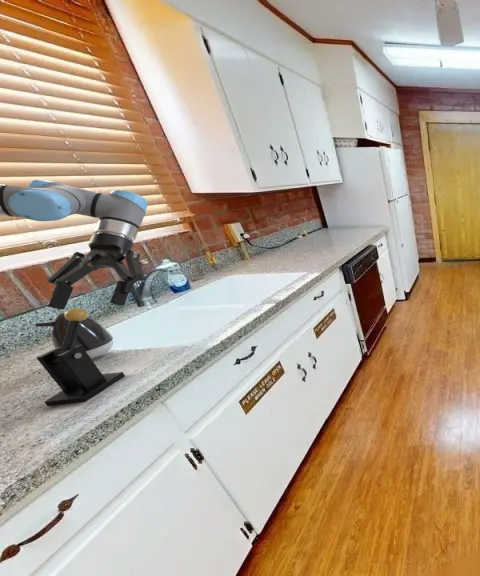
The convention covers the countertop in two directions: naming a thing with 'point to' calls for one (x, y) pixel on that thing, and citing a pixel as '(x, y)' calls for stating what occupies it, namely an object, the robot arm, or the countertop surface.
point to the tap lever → (70, 330)
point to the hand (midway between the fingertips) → (87, 306)
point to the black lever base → (76, 376)
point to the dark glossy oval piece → (81, 335)
